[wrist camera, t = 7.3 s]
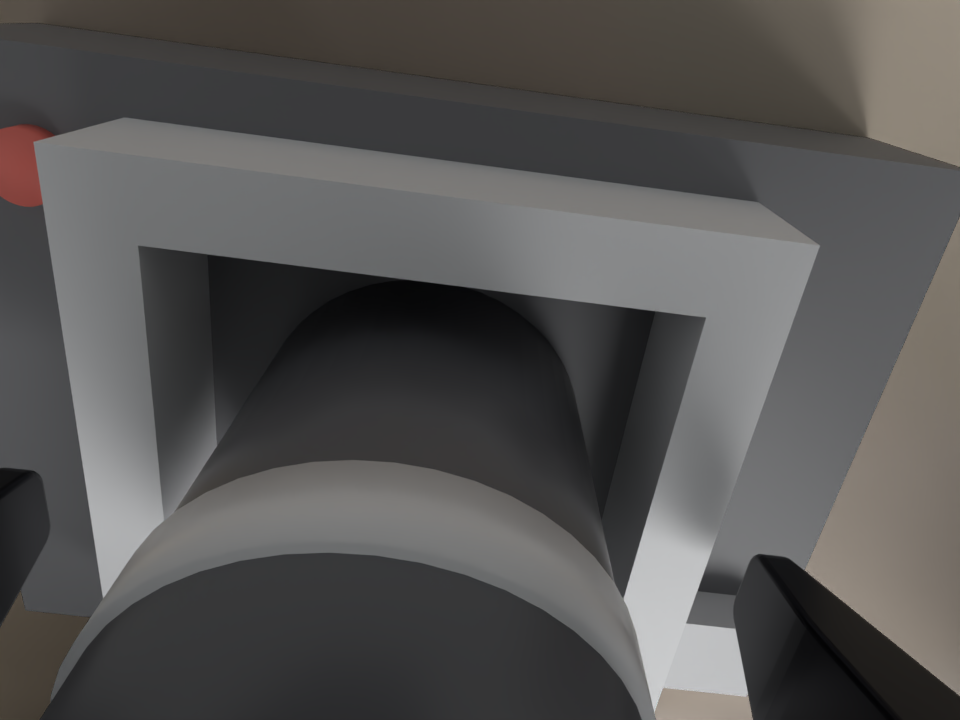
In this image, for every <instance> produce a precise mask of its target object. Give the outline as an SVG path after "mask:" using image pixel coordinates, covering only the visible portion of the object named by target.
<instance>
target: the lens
mask: <svg viewBox="0 0 960 720" xmlns="http://www.w3.org/2000/svg"><path fill="white" fill-rule="evenodd" d="M40 720H656V718H655V713H654V709H653V705H652V700H651V696H650V691H649V687H648V683H647V678H646V674H645V670H644V665H643V661H642V657H641V652H640V648H639V644H638V639H637V635H636V631H635V628H634V625H633V622H632V619H631V616H630V613H629V610H628V607H627V605H626V603H625V602H624V600H623V598H622V596H621V594H620V592H619V591H618V589H617V587H616V585H615V583H614V578H613V573H612V568H611V564H610V559H609V554H608V550H607V545H606V540H605V535H604V531H603V526H602V521H601V516H600V512H599V507H598V502H597V498H596V493H595V488H594V483H593V479H592V474H591V469H590V464H589V460H588V455H587V450H586V446H585V441H584V436H583V431H582V427H581V422H580V417H579V412H578V408H577V403H576V398H575V394H574V390H573V387H572V384H571V381H570V378H569V375H568V373H567V371H566V369H565V367H564V365H563V363H562V361H561V359H560V357H559V356H558V355H557V353H556V352H555V350H554V349H553V347H552V346H551V344H550V343H549V342H548V341H547V339H546V338H545V337H544V336H543V335H542V334H541V333H540V332H539V331H538V330H537V329H536V327H535V326H533V325H532V324H531V323H530V322H529V321H527V320H526V319H525V318H524V317H523V316H521V315H520V314H519V313H517V312H516V311H514V310H513V309H511V308H510V307H508V306H506V305H505V304H503V303H502V302H500V301H498V300H496V299H494V298H491V297H489V296H487V295H485V294H483V293H481V292H478V291H475V290H472V289H469V288H465V287H461V286H453V285H445V284H437V283H430V282H422V281H414V280H398V281H388V282H383V283H377V284H372V285H368V286H365V287H362V288H359V289H355V290H352V291H349V292H347V293H345V294H343V295H341V296H339V297H337V298H335V299H333V300H330V301H329V302H327V303H326V304H324V305H323V306H321V307H320V308H318V309H317V310H315V311H314V312H312V313H311V314H310V315H309V316H308V317H307V318H306V319H305V320H303V321H302V322H301V323H300V324H299V325H298V326H297V327H296V328H295V330H294V331H293V332H292V333H291V334H290V336H289V337H288V338H287V339H286V340H285V342H284V343H283V345H282V347H281V348H280V350H279V351H278V353H277V354H276V356H275V357H274V359H273V360H272V362H271V364H270V365H269V367H268V368H267V370H266V371H265V373H264V374H263V376H262V377H261V379H260V380H259V382H258V384H257V385H256V387H255V388H254V390H253V391H252V393H251V394H250V396H249V397H248V399H247V401H246V402H245V404H244V405H243V407H242V408H241V410H240V411H239V413H238V414H237V416H236V417H235V419H234V421H233V422H232V424H231V425H230V427H229V428H228V430H227V431H226V433H225V434H224V436H223V438H222V439H221V441H220V442H219V444H218V445H217V447H216V448H215V450H214V451H213V453H212V455H211V456H210V458H209V459H208V461H207V462H206V464H205V465H204V467H203V468H202V470H201V471H200V473H199V475H198V476H197V478H196V479H195V481H194V482H193V484H192V485H191V487H190V488H189V490H188V492H187V493H186V495H185V496H184V498H183V499H182V501H181V502H180V504H179V505H178V507H177V508H176V510H175V512H174V513H173V514H172V515H170V516H169V517H168V518H167V519H166V520H165V521H163V522H162V523H161V524H160V525H159V526H157V527H156V528H155V529H154V530H153V531H152V532H151V533H150V534H149V536H148V537H147V538H146V539H145V540H144V542H143V543H142V544H141V545H140V546H139V547H138V549H137V550H136V551H135V552H134V554H133V555H132V557H131V558H130V560H129V561H128V563H127V564H126V566H125V567H124V568H123V570H122V571H121V573H120V574H119V576H118V577H117V579H116V580H115V582H114V583H113V585H112V586H111V588H110V589H109V591H108V592H107V594H106V595H105V597H104V598H103V600H102V601H101V603H100V604H99V606H98V607H97V609H96V610H95V612H94V613H93V614H92V616H91V617H90V619H89V620H88V622H87V623H86V625H85V626H84V628H83V629H82V631H81V632H80V634H79V635H78V637H77V638H76V640H75V641H74V643H73V645H72V646H71V648H70V650H69V652H68V653H67V655H66V657H65V659H64V661H63V662H62V664H61V666H60V668H59V671H58V674H57V677H56V680H55V684H54V687H53V690H52V693H51V703H50V704H49V706H48V707H47V709H46V710H45V712H44V714H43V715H42V717H41V718H40Z"/></svg>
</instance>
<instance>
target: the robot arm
mask: <svg viewBox="0 0 960 720" xmlns="http://www.w3.org/2000/svg"><path fill="white" fill-rule="evenodd" d="M50 527H51V523H50V516H49V511H48V506H47V500H46V495H45V489H44V484H43V480H42V478H41V476H40V475H39V474H38V473H37V472H35V471H33V470H26V469H17V468H0V627H1V625H2V623H3V621H4V619H5V618H6V616H7V614H8V612H9V610H10V608H11V607H12V605H13V603H14V601H15V599H16V598H17V596H18V594H19V592H20V590H21V588H22V587H23V585H24V583H25V581H26V579H27V578H28V576H29V574H30V572H31V570H32V568H33V567H34V565H35V563H36V561H37V559H38V558H39V556H40V554H41V552H42V550H43V548H44V547H45V545H46V543H47V540H48V537H49V534H50ZM733 618H734V624H735V629H736V635H737V640H738V645H739V650H740V655H741V660H742V665H743V671H744V676H745V681H746V686H747V691H748V696H749V701H750V707H751V712H752V717H753V720H960V696H959V695H957V694H956V693H955V692H954V691H953V690H951V689H950V688H949V687H948V686H946V685H945V684H944V683H943V682H941V681H940V680H939V679H938V678H936V677H935V676H934V675H933V674H932V673H930V672H929V671H928V670H927V669H925V668H924V667H923V666H922V665H920V664H919V663H918V662H917V661H916V660H914V659H913V658H912V657H911V656H909V655H908V654H907V653H906V652H904V651H903V650H902V649H901V648H899V647H898V646H897V645H896V644H895V643H893V642H892V641H891V640H890V639H888V638H887V637H886V636H885V635H883V634H882V633H881V632H880V631H878V630H877V629H876V628H875V627H874V626H872V625H871V624H870V623H869V622H867V621H866V620H865V619H864V618H862V617H861V616H860V615H859V614H857V613H856V612H855V611H854V610H853V609H851V608H850V607H849V606H848V605H846V604H845V603H844V602H843V601H841V600H840V599H839V598H838V597H836V596H835V595H834V594H833V593H832V592H830V591H829V590H828V589H827V588H825V587H824V586H823V585H822V584H820V583H819V582H818V581H817V580H815V579H814V578H813V577H812V576H811V575H809V574H808V573H807V572H806V571H804V570H803V569H802V568H801V567H799V566H798V565H797V564H796V563H794V562H793V561H792V560H791V559H789V558H787V557H783V556H775V555H767V554H757V555H755V556H753V557H752V558H751V560H750V562H749V564H748V566H747V569H746V572H745V574H744V577H743V579H742V582H741V584H740V587H739V590H738V592H737V595H736V597H735V601H734V606H733Z"/></svg>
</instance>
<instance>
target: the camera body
mask: <svg viewBox="0 0 960 720" xmlns="http://www.w3.org/2000/svg"><path fill="white" fill-rule="evenodd" d="M959 217H960V167H958V166H955V165H952V164H948V163H945V162H942V161H939V160H936V159H933V158H930V157H927V156H924V155H921V154H917V153H914V152H911V151H908V150H905V149H902V148H899V147H896V146H893V145H890V144H886V143H883V142H880V141H877V140H874V139H871V138H866V137H858V136H851V135H844V134H837V133H829V132H822V131H815V130H808V129H800V128H793V127H786V126H779V125H771V124H764V123H757V122H750V121H742V120H735V119H728V118H721V117H714V116H706V115H699V114H692V113H685V112H677V111H670V110H663V109H656V108H648V107H641V106H634V105H627V104H619V103H612V102H605V101H598V100H590V99H583V98H576V97H569V96H561V95H554V94H547V93H540V92H532V91H525V90H518V89H511V88H503V87H496V86H489V85H482V84H474V83H467V82H460V81H453V80H446V79H438V78H431V77H424V76H417V75H409V74H402V73H395V72H388V71H380V70H373V69H366V68H359V67H351V66H344V65H337V64H330V63H322V62H315V61H308V60H301V59H293V58H286V57H279V56H272V55H264V54H257V53H250V52H243V51H235V50H228V49H221V48H214V47H207V46H199V45H192V44H185V43H178V42H170V41H163V40H156V39H149V38H141V37H134V36H127V35H120V34H112V33H105V32H98V31H91V30H83V29H76V28H69V27H62V26H54V25H47V24H40V23H14V24H0V468H17V469H26V470H33V471H35V472H37V473H38V474H39V475H40V476H41V478H42V480H43V484H44V489H45V495H46V500H47V506H48V511H49V516H50V523H51V527H50V534H49V537H48V540H47V543H46V545H45V547H44V548H43V550H42V552H41V554H40V556H39V558H38V559H37V561H36V563H35V565H34V567H33V568H32V570H31V572H30V574H29V576H28V578H27V579H26V581H25V583H24V585H23V587H22V588H21V593H22V597H23V602H24V606H25V610H27V611H36V612H46V613H55V614H64V615H74V616H83V617H91V616H92V614H93V613H94V612H95V610H96V609H97V607H98V606H99V604H100V603H101V601H102V600H103V598H104V597H105V595H106V594H107V592H108V591H109V589H110V588H111V586H112V585H113V583H114V582H115V580H116V579H117V577H118V576H119V574H120V573H121V571H122V570H123V568H124V567H125V566H126V564H127V563H128V561H129V560H130V558H131V557H132V555H133V554H134V552H135V551H136V550H137V549H138V547H139V546H140V545H141V544H142V543H143V542H144V540H145V539H146V538H147V537H148V536H149V534H150V533H151V532H152V531H153V530H154V529H155V528H156V527H157V526H159V525H160V524H161V523H162V522H163V521H165V520H166V519H167V518H168V517H169V516H170V515H172V514H173V513H174V512H175V510H176V508H177V507H178V505H179V504H180V502H181V501H182V499H183V498H184V496H185V495H186V493H187V492H188V490H189V488H190V487H191V485H192V484H193V482H194V481H195V479H196V478H197V476H198V475H199V473H200V471H201V470H202V468H203V467H204V465H205V464H206V462H207V461H208V459H209V458H210V456H211V455H212V453H213V451H214V450H215V448H216V447H217V445H218V444H219V442H220V441H221V439H222V438H223V436H224V434H225V433H226V431H227V430H228V428H229V427H230V425H231V424H232V422H233V421H234V419H235V417H236V416H237V414H238V413H239V411H240V410H241V408H242V407H243V405H244V404H245V402H246V401H247V399H248V397H249V396H250V394H251V393H252V391H253V390H254V388H255V387H256V385H257V384H258V382H259V380H260V379H261V377H262V376H263V374H264V373H265V371H266V370H267V368H268V367H269V365H270V364H271V362H272V360H273V359H274V357H275V356H276V354H277V353H278V351H279V350H280V348H281V347H282V345H283V343H284V342H285V340H286V339H287V338H288V337H289V336H290V334H291V333H292V332H293V331H294V330H295V328H296V327H297V326H298V325H299V324H300V323H301V322H302V321H303V320H305V319H306V318H307V317H308V316H309V315H310V314H311V313H312V312H314V311H315V310H317V309H318V308H320V307H321V306H323V305H324V304H326V303H327V302H329V301H330V300H333V299H335V298H337V297H339V296H341V295H343V294H345V293H347V292H349V291H352V290H355V289H359V288H362V287H365V286H368V285H372V284H377V283H383V282H388V281H398V280H414V281H422V282H430V283H437V284H445V285H453V286H461V287H465V288H469V289H472V290H475V291H478V292H481V293H483V294H485V295H487V296H489V297H491V298H494V299H496V300H498V301H500V302H502V303H503V304H505V305H506V306H508V307H510V308H511V309H513V310H514V311H516V312H517V313H519V314H520V315H521V316H523V317H524V318H525V319H526V320H527V321H529V322H530V323H531V324H532V325H533V326H535V327H536V329H537V330H538V331H539V332H540V333H541V334H542V335H543V336H544V337H545V338H546V339H547V341H548V342H549V343H550V344H551V346H552V347H553V349H554V350H555V352H556V353H557V355H558V356H559V357H560V359H561V361H562V363H563V365H564V367H565V369H566V371H567V373H568V375H569V378H570V381H571V384H572V387H573V390H574V394H575V398H576V403H577V408H578V412H579V417H580V422H581V427H582V431H583V436H584V441H585V446H586V450H587V455H588V460H589V464H590V469H591V474H592V479H593V483H594V488H595V493H596V498H597V502H598V507H599V512H600V516H601V521H602V526H603V531H604V535H605V540H606V545H607V550H608V554H609V559H610V564H611V568H612V573H613V578H614V583H615V585H616V587H617V589H618V591H619V592H620V594H621V596H622V598H623V600H624V602H625V603H626V605H627V607H628V610H629V613H630V616H631V619H632V622H633V625H634V628H635V631H636V635H637V639H638V644H639V648H640V652H641V657H642V661H643V665H644V670H645V674H646V678H647V683H648V687H649V691H650V696H651V700H652V705H653V709H654V712H655V709H656V706H657V703H658V701H659V698H660V695H661V692H662V689H663V688H670V689H680V690H689V691H698V692H708V693H717V694H727V695H736V696H745V697H747V694H748V691H747V686H746V681H745V676H744V671H743V665H742V660H741V655H740V650H739V645H738V640H737V635H736V629H735V624H734V618H733V606H734V601H735V597H736V595H737V592H738V590H739V587H740V584H741V582H742V579H743V577H744V574H745V572H746V569H747V566H748V564H749V562H750V560H751V558H752V557H753V556H755V555H757V554H767V555H775V556H783V557H787V558H789V559H791V560H792V561H793V562H794V563H796V564H797V565H798V566H799V567H801V568H802V569H803V570H805V568H806V566H807V563H808V561H809V559H810V557H811V554H812V552H813V550H814V547H815V545H816V543H817V541H818V538H819V536H820V534H821V532H822V529H823V527H824V525H825V522H826V520H827V518H828V516H829V513H830V511H831V509H832V506H833V504H834V502H835V500H836V497H837V495H838V493H839V490H840V488H841V486H842V484H843V481H844V479H845V477H846V475H847V472H848V470H849V468H850V465H851V463H852V461H853V459H854V456H855V454H856V452H857V449H858V447H859V445H860V443H861V440H862V438H863V436H864V433H865V431H866V429H867V427H868V424H869V422H870V420H871V418H872V415H873V413H874V411H875V408H876V406H877V404H878V402H879V399H880V397H881V395H882V392H883V390H884V388H885V386H886V383H887V381H888V379H889V376H890V374H891V372H892V370H893V367H894V365H895V363H896V361H897V358H898V356H899V354H900V351H901V349H902V347H903V345H904V342H905V340H906V338H907V335H908V333H909V331H910V329H911V326H912V324H913V322H914V319H915V317H916V315H917V313H918V310H919V308H920V306H921V304H922V301H923V299H924V297H925V294H926V292H927V290H928V288H929V285H930V283H931V281H932V278H933V276H934V274H935V272H936V269H937V267H938V265H939V262H940V260H941V258H942V256H943V253H944V251H945V249H946V247H947V244H948V242H949V240H950V237H951V235H952V233H953V231H954V228H955V226H956V224H957V221H958V219H959Z"/></svg>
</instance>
